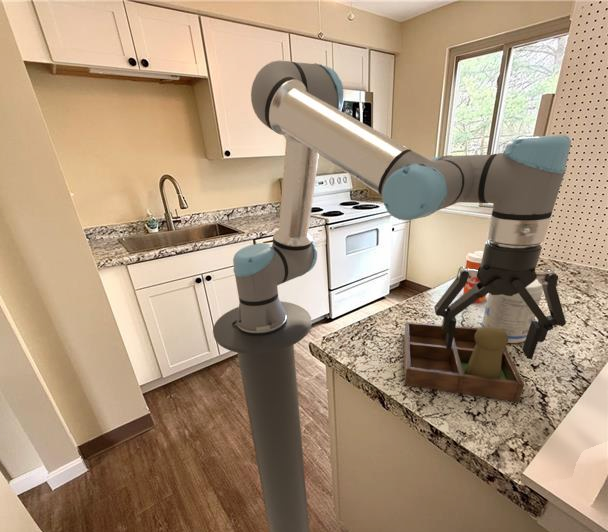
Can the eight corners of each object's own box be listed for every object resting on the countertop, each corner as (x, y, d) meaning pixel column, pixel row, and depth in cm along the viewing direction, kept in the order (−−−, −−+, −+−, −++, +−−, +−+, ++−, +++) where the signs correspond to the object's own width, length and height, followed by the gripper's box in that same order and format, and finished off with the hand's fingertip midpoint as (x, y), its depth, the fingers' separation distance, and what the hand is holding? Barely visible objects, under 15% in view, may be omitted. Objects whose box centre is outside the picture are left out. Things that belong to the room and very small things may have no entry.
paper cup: (453, 296, 96) (460, 253, 90) (472, 291, 98) (480, 248, 92) (475, 306, 89) (484, 260, 84) (495, 300, 91) (505, 255, 86)
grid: (404, 384, 64) (406, 368, 62) (404, 335, 80) (405, 321, 78) (519, 402, 57) (524, 384, 55) (493, 344, 73) (496, 329, 71)
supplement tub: (479, 321, 82) (490, 269, 76) (523, 327, 78) (539, 272, 72) (482, 341, 74) (495, 285, 68) (532, 348, 70) (550, 288, 64)
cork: (494, 369, 64) (506, 323, 59) (504, 388, 59) (518, 340, 54) (461, 366, 66) (470, 321, 61) (468, 384, 61) (478, 337, 56)
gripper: (431, 247, 52) (417, 352, 61) (627, 250, 43) (575, 371, 52) (428, 235, 58) (416, 332, 67) (598, 236, 49) (557, 347, 59)
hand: (485, 350), depth 60 cm, fingers open, 12 cm apart
